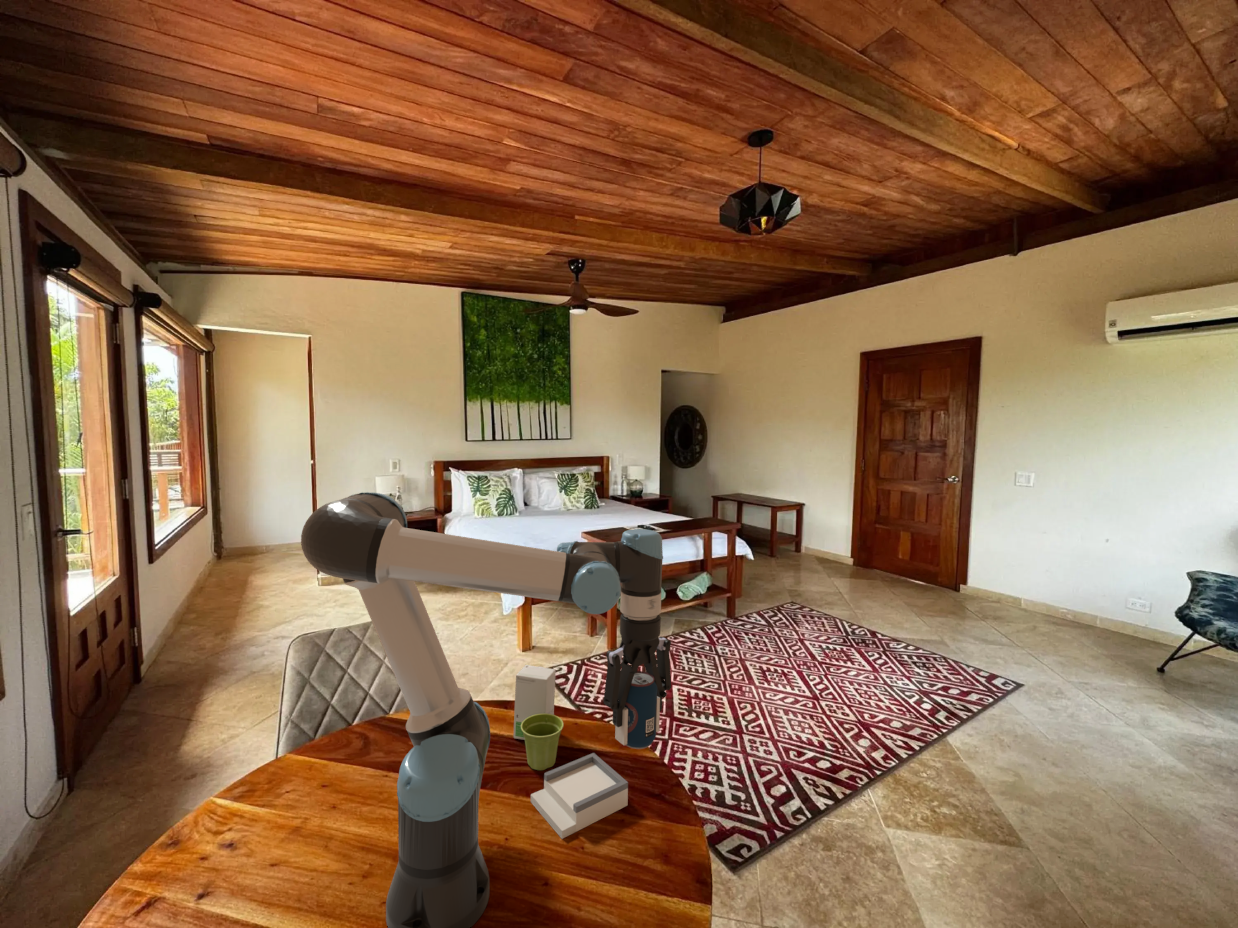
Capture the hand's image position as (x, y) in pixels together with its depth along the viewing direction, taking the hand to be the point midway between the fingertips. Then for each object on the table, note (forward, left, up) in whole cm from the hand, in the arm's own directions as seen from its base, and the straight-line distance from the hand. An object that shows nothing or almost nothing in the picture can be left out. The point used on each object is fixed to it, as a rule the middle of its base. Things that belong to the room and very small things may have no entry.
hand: (637, 734), depth 99 cm
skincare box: (-2, +37, -17) cm, 41 cm away
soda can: (0, 0, -1) cm, 1 cm away
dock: (-6, +10, -17) cm, 21 cm away
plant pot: (-6, +26, -17) cm, 32 cm away
